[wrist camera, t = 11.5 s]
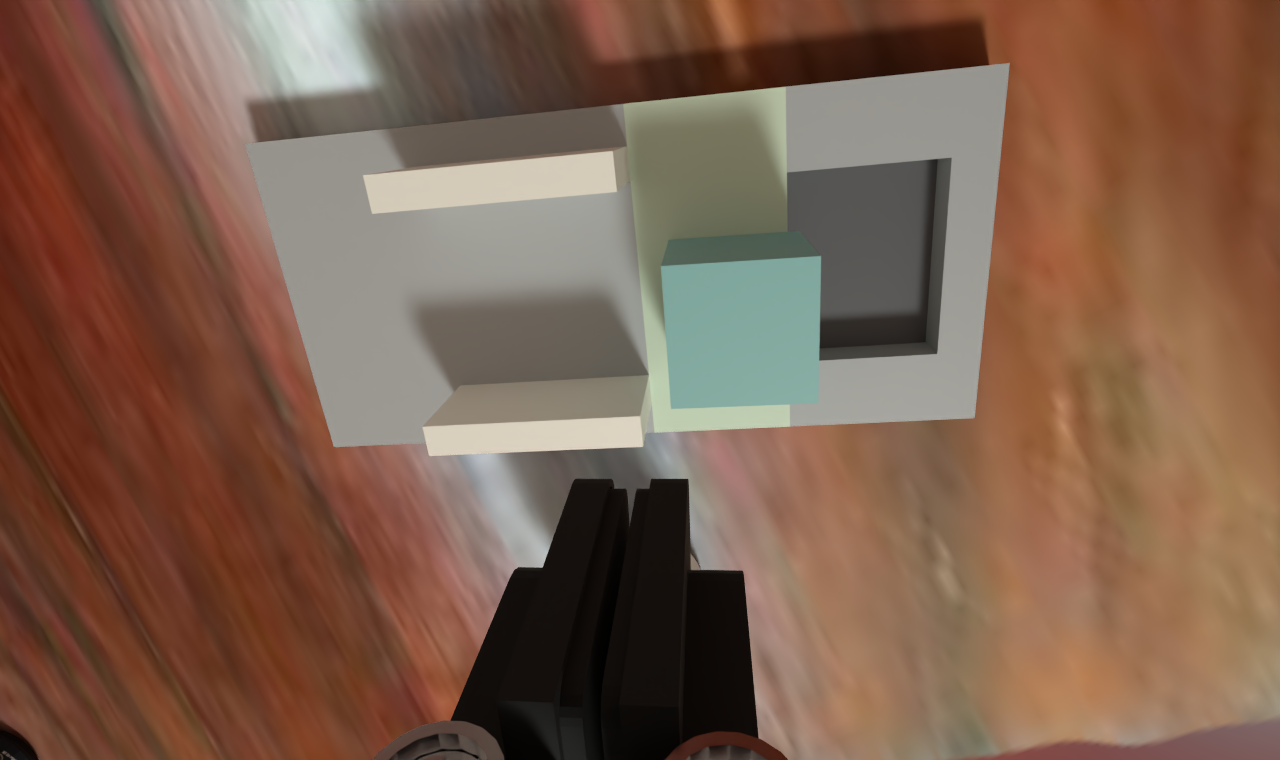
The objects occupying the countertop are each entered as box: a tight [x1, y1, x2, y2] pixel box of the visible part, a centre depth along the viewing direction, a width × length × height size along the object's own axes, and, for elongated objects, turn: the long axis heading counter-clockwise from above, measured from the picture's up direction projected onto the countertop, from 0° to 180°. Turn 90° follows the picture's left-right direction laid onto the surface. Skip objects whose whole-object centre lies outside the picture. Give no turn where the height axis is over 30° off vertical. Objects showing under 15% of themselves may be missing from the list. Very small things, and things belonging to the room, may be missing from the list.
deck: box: [245, 63, 1010, 456], centre depth 30 cm, size 16×34×7 cm, turn 95°
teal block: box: [661, 231, 821, 409], centre depth 29 cm, size 6×6×6 cm
